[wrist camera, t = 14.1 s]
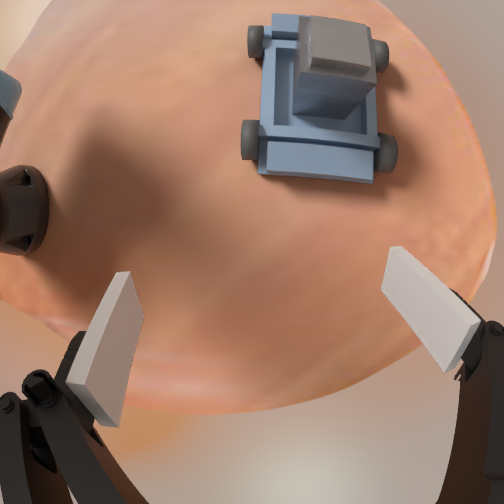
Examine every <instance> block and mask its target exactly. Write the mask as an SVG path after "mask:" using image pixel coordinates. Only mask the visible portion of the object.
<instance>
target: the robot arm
mask: <svg viewBox="0 0 504 504" xmlns="http://www.w3.org/2000/svg"><path fill="white" fill-rule="evenodd" d="M21 92H22V88H21V84H20V83H19V82H18V81H17V80H16V79H15V78H13V77H12V76H10V75H8V74H7V73H5V72H3V71H1V70H0V147H1V144H2V141H3V138H4V136H5V133H6V130H7V128H8V125H9V123H10V120H12V119H13V113H14V110H15V108H16V106H17V103H18V101H19V99H20V96H21ZM48 213H49V204H48V194H47V189H46V185H45V182H44V180H43V178H42V176H41V174H40V173H39V171H38V170H37V169H36V168H34V167H32V166H28V165H18V166H14V167H12V168H9V169H7V170H4V171H2V172H0V252H1V253H6V254H12V255H18V256H19V255H25V254H28V253H32V252H34V251H35V250H36V249H37V248H38V247H39V246H40V244H41V242H42V240H43V238H44V235H45V232H46V228H47V223H48ZM381 291H382V292H383V293H384V295H385V296H386V297H387V298H388V300H389V301H390V302H391V303H392V304H393V306H394V307H395V308H396V309H397V311H398V312H399V313H400V314H401V316H402V317H403V318H404V320H405V321H406V322H407V323H408V325H409V326H410V327H411V329H412V330H413V331H414V332H415V334H416V335H417V336H418V338H419V339H420V340H421V342H422V343H423V344H424V346H425V347H426V348H427V350H428V351H429V352H430V354H431V355H432V357H433V358H434V359H435V361H436V362H437V364H438V365H439V367H440V368H441V369H442V371H443V372H444V373H445V372H447V371H449V370H451V369H453V368H455V367H456V365H457V363H458V362H459V360H460V358H461V359H462V360H463V361H464V363H463V364H462V366H461V368H460V369H459V371H458V372H457V374H456V375H455V377H454V380H456V379H457V377H458V376H459V374H461V377H460V379H459V381H460V395H459V406H458V414H457V422H456V428H455V434H454V440H453V445H452V451H451V455H450V460H449V464H448V468H447V472H446V476H445V479H444V483H443V486H442V490H441V493H440V496H439V498H438V501H437V502H436V504H504V327H503V326H502V325H501V324H500V323H498V322H496V321H488V322H485V320H483V318H482V317H481V316H480V315H479V314H478V313H477V312H476V311H475V310H474V309H473V308H472V307H471V306H470V305H468V303H467V302H466V301H465V300H463V298H462V297H461V296H460V295H459V294H458V293H457V292H455V291H453V290H452V289H450V288H448V287H447V286H446V285H445V284H444V283H443V282H442V281H441V280H439V279H438V278H437V277H436V276H435V275H434V274H433V273H432V272H431V271H430V270H428V269H427V268H426V267H425V266H424V265H423V264H422V263H420V262H419V261H418V260H417V259H416V258H415V257H414V256H412V255H411V254H410V253H409V252H408V251H406V250H405V249H404V248H403V247H402V246H395V247H390V250H389V255H388V260H387V265H386V269H385V274H384V278H383V282H382V287H381ZM143 319H144V314H143V311H142V308H141V305H140V301H139V298H138V295H137V292H136V288H135V285H134V282H133V278H132V275H131V271H127V272H116V274H115V276H114V278H113V279H112V281H111V283H110V285H109V287H108V289H107V291H106V293H105V295H104V297H103V299H102V301H101V303H100V305H99V307H98V309H97V311H96V313H95V315H94V317H93V319H92V321H91V323H90V325H89V327H88V330H87V331H79V332H78V333H77V334H76V335H75V337H74V338H73V339H72V340H71V342H70V344H69V346H68V350H67V351H66V353H65V355H64V358H63V360H62V362H61V364H60V366H59V369H58V371H57V374H56V376H55V378H54V380H53V378H52V377H51V375H50V374H49V373H48V372H47V371H45V370H35V371H33V372H31V373H30V374H28V375H27V377H26V378H25V379H24V381H23V384H22V393H23V394H24V395H25V396H26V397H27V398H28V399H27V400H21V399H20V398H19V397H18V396H17V395H16V394H15V393H13V392H7V393H5V394H3V395H2V396H1V397H0V485H1V491H2V497H3V501H4V504H73V502H72V499H71V496H70V492H69V489H70V490H71V492H72V494H73V496H74V497H75V499H76V501H77V502H78V504H149V503H148V502H147V501H146V500H145V498H144V497H143V496H142V495H141V494H140V493H139V491H138V490H137V489H136V487H134V485H133V484H132V482H131V481H130V480H129V479H128V477H127V476H126V474H125V473H124V472H123V470H122V469H121V468H120V466H119V465H118V463H117V462H116V460H115V459H114V457H113V456H112V455H111V453H110V451H109V450H108V448H107V447H106V445H105V444H104V442H103V440H102V439H101V437H100V435H99V434H98V432H97V430H96V429H95V428H94V427H93V423H94V419H96V420H97V421H98V422H99V424H100V425H102V426H108V427H117V428H119V424H120V418H121V412H122V407H123V402H124V397H125V393H126V388H127V383H128V379H129V374H130V370H131V366H132V361H133V357H134V353H135V349H136V345H137V341H138V338H139V334H140V330H141V326H142V323H143ZM67 485H68V486H67ZM68 487H69V489H68Z"/></svg>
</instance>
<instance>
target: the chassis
mask: <svg viewBox="0 0 504 504" xmlns="http://www.w3.org/2000/svg"><path fill="white" fill-rule="evenodd" d="M299 16H304V15H292V14H272V26H264V27H263V26H249V27H248V55H249V58H263V70H262V92H261V114H260V121H259V120H243V123H242V129H241V156H242V160H258V174H264V175H283V176H298V177H311V178H322V179H333V180H342V181H351V182H360V183H368V184H372V183H373V179H374V171H378V172H385V173H391V172H392V171H393V170H394V168H395V165H396V162H397V155H398V148H397V142H396V139H395V137H394V136H393V135H388V134H383V133H377V108H376V93H375V87H374V88H373V89H372V90H371V91H370V92H369V93H368V94H367V96H366V97H365V98H364V99H363V100H362V101H361V102H360V103H359V105H358V106H357V107H356V108H355V109H354V110H353V111H352V112H351V114H350V115H349V116H348V117H347V118H346V119H345V120H340V119H332V118H324V117H315V116H304V115H292V88H293V63H294V55H295V47H296V39H297V30H298V22H299ZM304 17H311V16H304ZM372 44H373V50H374V58H375V66H376V72H381V73H383V72H384V71H385V70H386V68H387V66H388V62H389V48H388V45H387V43H386V42H383V41H379V40H375V39H372Z"/></svg>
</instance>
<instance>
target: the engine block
mask: <svg viewBox="0 0 504 504" xmlns="http://www.w3.org/2000/svg"><path fill="white" fill-rule="evenodd" d="M376 84H377V76H376V66H375V58H374V50H373V44H372V37H371V31H370V27H366V25H365V24H360V23H356V22H351V21H345V20H340V19H334V18H327V17H320V16H311V17H304V16H299V22H298V30H297V39H296V47H295V55H294V63H293V88H292V115H304V116H315V117H324V118H332V119H340V120H345V119H346V118H347V117H348V116H349V115H350V114H351V112H352V111H353V110H354V109H355V108H356V107H357V106H358V105H359V103H360V102H361V101H362V100H363V99H364V98H365V97H366V96H367V94H368V93H369V92H370V91H371V90H372V89H373V88H374V87H375V85H376Z"/></svg>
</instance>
